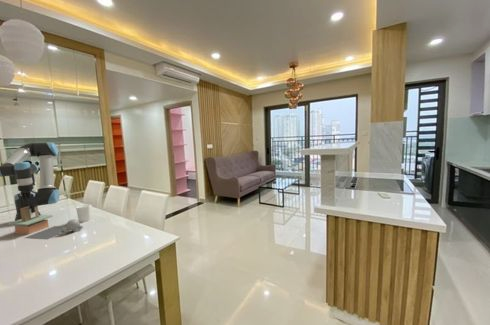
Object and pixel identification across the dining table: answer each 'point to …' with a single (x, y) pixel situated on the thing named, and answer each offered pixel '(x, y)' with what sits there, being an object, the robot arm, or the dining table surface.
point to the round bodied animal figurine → (71, 227)
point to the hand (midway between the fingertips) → (30, 217)
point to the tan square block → (31, 227)
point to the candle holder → (84, 212)
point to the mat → (47, 233)
